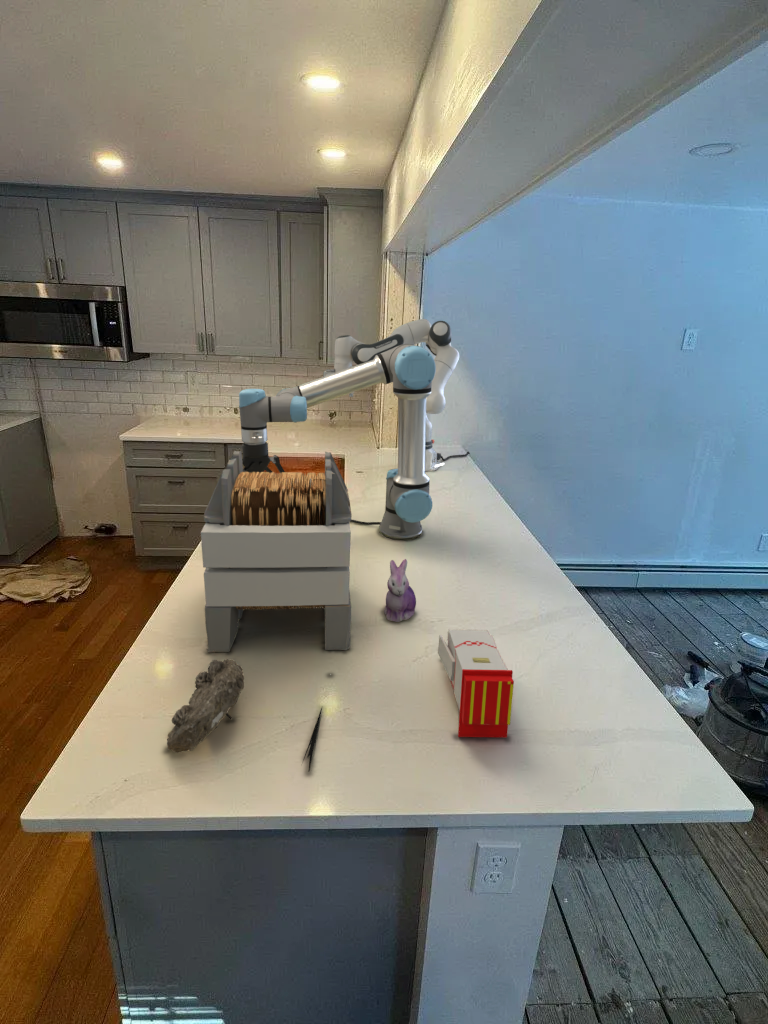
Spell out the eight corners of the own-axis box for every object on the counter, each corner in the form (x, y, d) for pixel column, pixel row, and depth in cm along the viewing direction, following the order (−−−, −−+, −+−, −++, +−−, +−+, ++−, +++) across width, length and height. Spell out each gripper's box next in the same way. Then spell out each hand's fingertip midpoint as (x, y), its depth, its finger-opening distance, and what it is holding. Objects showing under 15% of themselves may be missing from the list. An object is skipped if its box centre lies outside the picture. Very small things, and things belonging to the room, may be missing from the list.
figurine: (392, 627, 141) (395, 572, 136) (374, 608, 149) (376, 556, 144) (425, 619, 145) (429, 566, 140) (405, 601, 154) (408, 550, 149)
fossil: (192, 660, 117) (244, 628, 112) (224, 691, 120) (276, 661, 115) (142, 746, 98) (202, 712, 93) (182, 779, 101) (242, 748, 96)
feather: (331, 679, 122) (336, 673, 122) (307, 777, 96) (313, 769, 95) (324, 675, 122) (329, 669, 121) (298, 772, 95) (304, 764, 95)
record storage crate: (227, 584, 158) (219, 441, 145) (344, 583, 162) (347, 443, 148) (205, 654, 127) (191, 480, 113) (351, 650, 130) (355, 481, 117)
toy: (488, 613, 130) (523, 677, 101) (484, 667, 133) (517, 744, 104) (435, 612, 130) (455, 676, 101) (432, 666, 133) (451, 743, 103)
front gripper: (214, 448, 161) (220, 518, 168) (299, 441, 171) (301, 507, 178) (209, 443, 167) (215, 510, 174) (291, 436, 177) (294, 500, 185)
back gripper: (325, 370, 275) (325, 398, 280) (364, 369, 283) (363, 397, 288) (321, 368, 280) (320, 396, 285) (359, 368, 289) (358, 395, 293)
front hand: (259, 509), depth 176 cm, fingers open, 13 cm apart
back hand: (342, 397), depth 287 cm, fingers open, 8 cm apart
